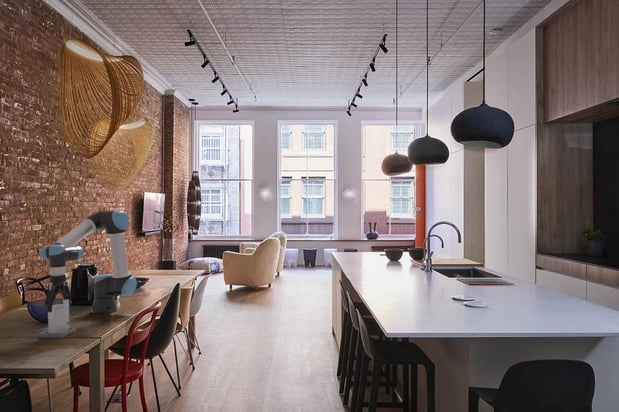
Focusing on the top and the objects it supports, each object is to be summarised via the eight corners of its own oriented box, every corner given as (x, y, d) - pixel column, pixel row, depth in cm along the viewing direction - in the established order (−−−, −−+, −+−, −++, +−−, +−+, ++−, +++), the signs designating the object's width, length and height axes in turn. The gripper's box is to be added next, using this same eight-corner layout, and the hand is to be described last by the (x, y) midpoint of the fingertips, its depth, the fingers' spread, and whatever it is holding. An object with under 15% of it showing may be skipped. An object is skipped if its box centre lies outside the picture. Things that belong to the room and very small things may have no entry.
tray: (53, 331, 255) (53, 327, 255) (76, 331, 254) (76, 327, 254) (39, 337, 242) (39, 333, 242) (63, 337, 242) (63, 333, 242)
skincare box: (54, 335, 243) (54, 306, 243) (47, 334, 246) (47, 305, 246) (69, 331, 251) (69, 303, 251) (62, 330, 254) (62, 302, 254)
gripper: (64, 270, 261) (65, 309, 261) (36, 278, 236) (36, 321, 236) (77, 270, 260) (78, 309, 261) (50, 278, 235) (51, 321, 236)
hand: (58, 315), depth 249 cm, fingers open, 13 cm apart
